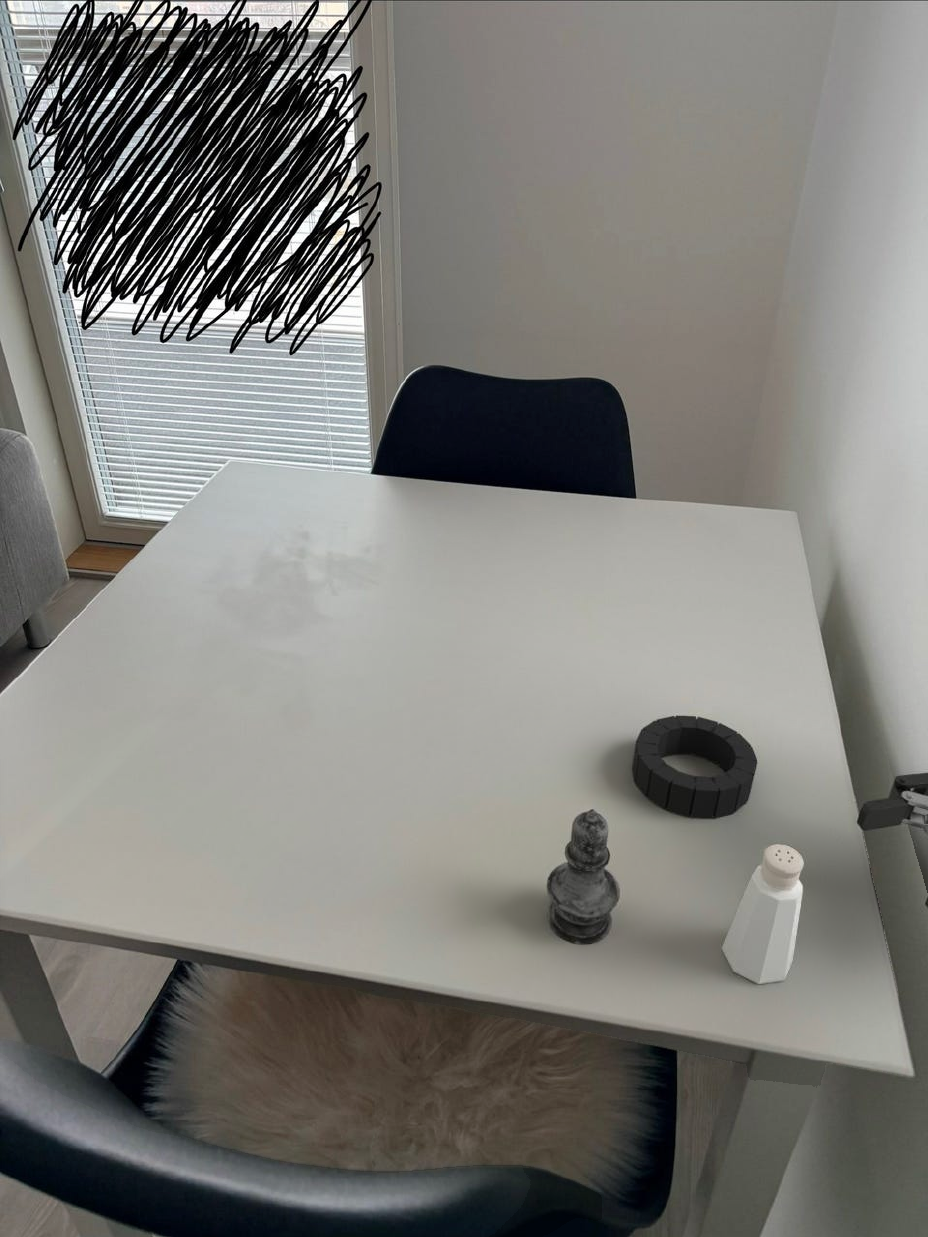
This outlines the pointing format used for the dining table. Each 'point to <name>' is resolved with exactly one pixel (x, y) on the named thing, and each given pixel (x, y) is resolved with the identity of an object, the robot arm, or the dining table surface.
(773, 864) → the pepper shaker
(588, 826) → the grey chess piece
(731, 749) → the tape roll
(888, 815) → the robot arm
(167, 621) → the dining table surface
